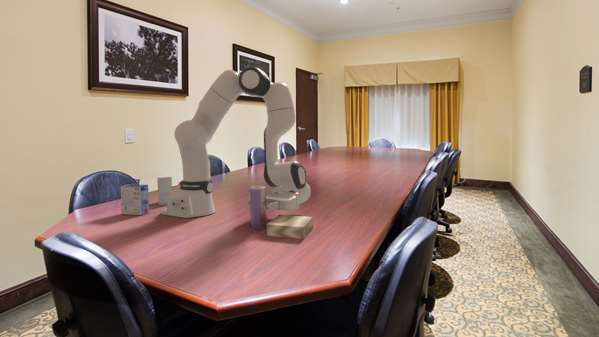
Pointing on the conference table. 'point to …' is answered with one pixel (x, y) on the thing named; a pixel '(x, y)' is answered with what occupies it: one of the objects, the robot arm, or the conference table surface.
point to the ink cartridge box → (135, 198)
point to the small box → (164, 188)
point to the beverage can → (258, 207)
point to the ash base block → (290, 226)
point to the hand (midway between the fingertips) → (257, 204)
